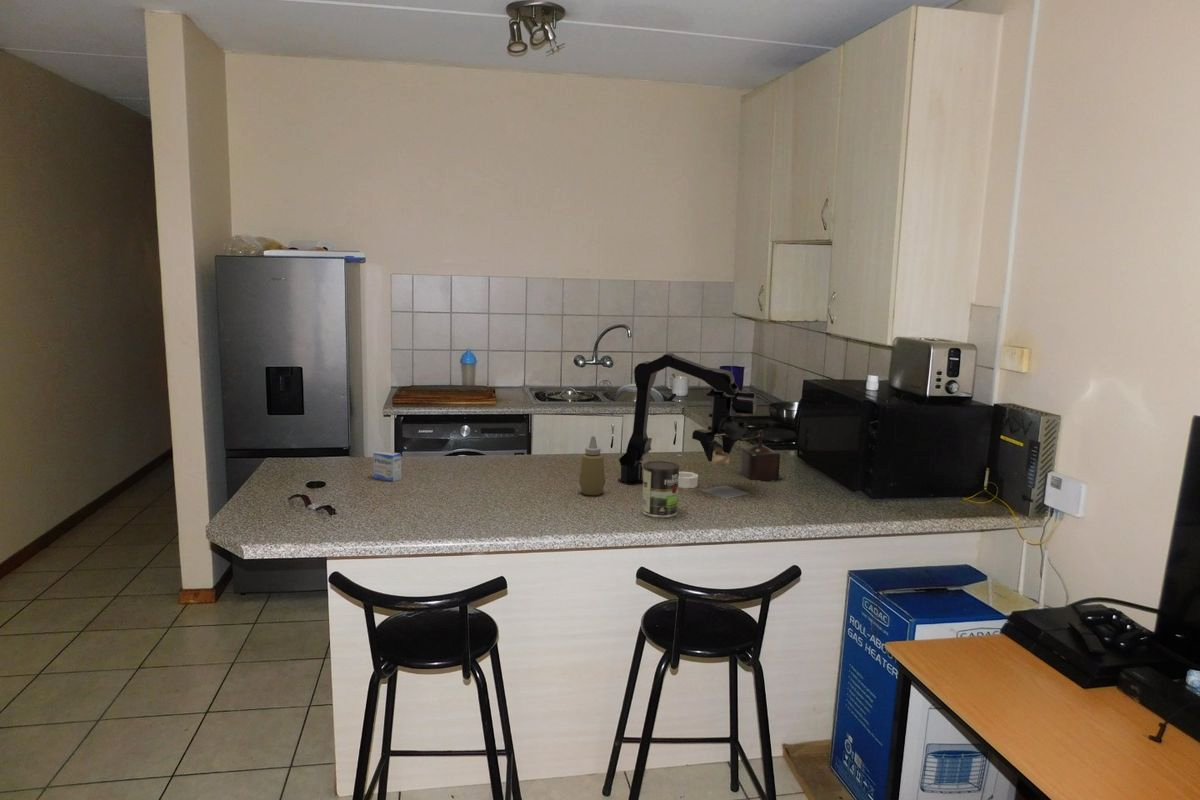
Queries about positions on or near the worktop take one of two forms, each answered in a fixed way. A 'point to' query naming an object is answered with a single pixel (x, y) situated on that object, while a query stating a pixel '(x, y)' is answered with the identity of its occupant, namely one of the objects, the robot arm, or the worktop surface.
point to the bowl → (687, 480)
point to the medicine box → (387, 466)
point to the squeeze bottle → (592, 470)
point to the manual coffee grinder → (759, 461)
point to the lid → (719, 457)
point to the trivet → (725, 492)
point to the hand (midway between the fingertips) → (717, 460)
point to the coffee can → (660, 489)
